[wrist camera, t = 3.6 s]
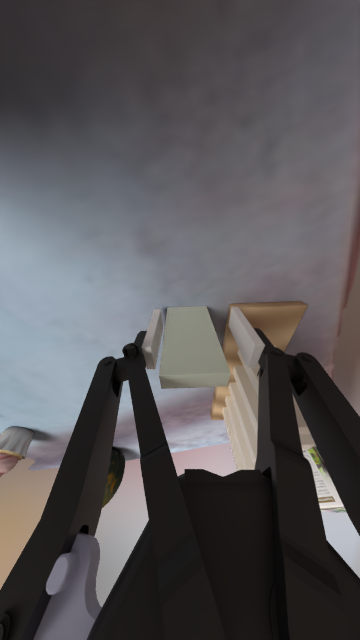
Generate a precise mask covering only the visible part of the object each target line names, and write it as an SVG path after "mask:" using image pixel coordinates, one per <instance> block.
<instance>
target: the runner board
mask: <svg viewBox="0 0 360 640" xmlns="http://www.w3.org/2000/svg"><path fill="white" fill-rule="evenodd" d="M231 307H239V309H240V310H241V312H242V313H243V315H244V316H245V317H246V319H247V320H248V322H249V323H250V324H251V326H252V327H253V328H259V329H260V330H262V331H263V333H264V334H265V335H266V337H267V338H268V339H269V340H270V342H271V343H272V344H274V345H275V346H276V347H277V348H279V349H281V350H282V351H283V352H284V351H285V349H286V347H287V345H288V343H289V341H290V339H291V338H292V336H293V334H294V332H295V330H296V328H297V326H298V324H299V322H300V320H301V318H302V316H303V314H304V312H305V310H306V308H307V307H308V305H306V304H305V303H303V302H301V301H293V302H268V303H242V304H230V306H229V312H228V318H227V323H226V329H225V335H224V340H223V346H222V351H223V353H224V356H225V359H226V361H227V364H228V367H229V370H230V372H231V374H230V378H229V382H228V386H223V387H215V391H214V397H213V403H212V408H211V414H210V415H211V420H224V417H223V413H222V410H223V408H225V407H227V406H226V402H225V399H226V396H231V394H230V391H229V388H228V387H229V384H230V383H234V382H236V380H235V378H234V375H233V373H232V372H233V368H234V366H243V364H242V362H241V360H240V358H239V356H238V354H237V353H238V350H239V347H238V345H237V343H236V341H235V339H234V337H233V335H232V333H231V330H230V328H229V326H228V324H229V319H230V313H231Z"/></svg>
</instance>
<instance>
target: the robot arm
mask: <svg viewBox="0 0 360 640" xmlns="http://www.w3.org/2000/svg"><path fill="white" fill-rule="evenodd" d="M228 326H229V328H230V330H231V333H232V335H233V337H234V339H235V341H236V343H237V345H238V347H239V350H240V352H241V354H242V356H243V358H244V360H245V362H246V364H247V367H257V364H258V363H259V365H260V369H259V371H258V373H257V376H258V375H259V391H258V433H257V458H256V463H255V469H254V470H239V471H237V472H234V473H232V474H229V475H227V476H224V477H222V476H219V475H217V474H214V473H211V472H209V471H206V470H203V469H185V473H184V474H182V475H180V476H177V473H176V470H175V466H174V463H173V460H172V456H171V453H170V450H169V446H168V443H167V440H166V437H165V433H164V430H163V427H162V423H161V420H160V417H159V413H158V410H157V407H156V403H155V400H154V397H153V393H152V390H151V386H150V383H149V380H148V376H147V373H146V370H145V368H146V367H147V369H155V367H156V362H157V357H158V351H159V346H160V341H161V336H162V330H163V323H162V315H161V309H154V312H153V315H152V318H151V321H150V324H149V327H148V330H147V331H140V332H139V333H138V334H137V337H136V339H135V342H134V343H130V344H127V345H126V346H124V348H123V350H122V351H123V354H124V357H123V358H119V359H115V358H114V357H112V356H111V357H105V358H104V359H102V360H101V361H100V362H99V364H98V366H97V369H96V371H95V374H94V377H93V380H92V382H91V385H90V388H89V390H88V393H87V396H86V398H85V401H84V404H83V406H82V409H81V412H80V414H79V417H78V420H77V423H76V425H75V428H74V431H73V433H72V436H71V439H70V441H69V444H68V447H67V449H66V452H65V455H64V457H63V460H62V463H61V465H60V468H59V471H58V474H57V476H56V479H55V482H54V484H53V487H52V490H51V492H50V495H49V498H48V500H47V503H46V506H45V508H44V511H43V514H42V517H41V519H40V522H39V523H38V525H37V527H36V528H35V530H34V532H33V534H32V536H31V537H30V539H29V541H28V542H27V544H26V546H25V548H24V549H23V551H22V553H21V555H20V557H19V558H18V560H17V562H16V564H15V565H14V567H13V569H12V570H11V572H10V574H9V576H8V578H7V579H6V581H5V583H4V584H3V586H2V588H1V590H0V640H360V578H359V577H358V576H357V575H356V574H355V573H354V571H353V570H352V569H351V568H350V567H349V566H348V564H347V563H346V562H345V561H344V560H343V559H342V557H341V556H340V555H339V554H338V553H337V552H336V550H335V549H334V548H333V547H332V546H331V545H330V544H329V542H328V541H327V540H326V535H325V530H324V525H323V520H322V515H321V510H320V505H319V501H318V496H317V491H316V486H315V481H314V476H313V471H312V467H311V464H310V462H309V460H308V459H306V458H305V457H304V455H303V451H302V446H301V440H300V435H299V429H298V423H297V417H296V412H295V406H294V400H293V396H294V398H295V400H296V402H297V405H298V407H299V409H300V411H301V413H302V416H303V418H304V420H305V422H306V424H307V427H308V429H309V431H310V433H311V435H312V438H313V440H314V442H315V444H316V446H317V449H318V451H319V453H320V455H321V457H322V460H323V462H324V464H325V466H326V468H327V471H328V473H329V475H330V477H331V479H332V482H333V484H334V486H335V488H336V490H337V493H338V495H339V497H340V499H341V501H342V503H343V505H344V508H345V510H346V512H347V514H348V516H349V518H350V520H351V521H352V523H353V525H354V527H355V528H356V530H357V532H358V533H359V536H360V417H359V416H358V414H357V413H356V412H355V410H354V409H353V407H352V406H351V405H350V403H349V402H348V401H347V399H346V398H345V397H344V395H343V394H342V393H341V392H340V390H339V389H338V387H337V386H336V385H335V383H334V382H333V381H332V379H331V378H330V377H329V375H328V374H327V373H326V371H325V370H324V369H323V367H322V366H321V365H320V363H319V362H318V361H317V359H315V358H314V357H313V356H311V355H310V354H307V353H303V352H302V353H297V355H296V356H292V355H287V354H285V353H284V352H283V351H282V350H281V349H279V348H276V347H274V346H273V344H272V343H271V342H270V340H269V339H268V338H267V337H266V335H265V334H264V333H263V331H262V330H260V329H259V328H253V327H252V326H251V324H250V323H249V322H248V320H247V319H246V317H245V316H244V315H243V313H242V312H241V310H240V309H239V307H231V313H230V319H229V324H228ZM126 380H129V386H130V392H131V399H132V405H133V411H134V417H135V423H136V429H137V435H138V442H139V448H140V455H141V457H140V464H141V471H142V477H143V484H144V491H145V497H146V504H147V510H148V517H149V521H148V523H147V525H146V527H145V528H144V530H143V532H142V534H141V536H140V538H139V540H138V541H137V543H136V545H135V547H134V549H133V551H132V553H131V555H130V556H129V558H128V560H127V562H126V564H125V566H124V568H123V570H122V572H121V573H120V575H119V577H118V579H117V581H116V583H115V585H114V586H113V588H112V590H111V592H110V594H109V596H108V598H107V599H106V602H105V603H104V605H103V607H101V606H100V605H99V602H98V600H97V596H96V590H95V588H96V576H97V570H98V565H99V560H100V547H99V543H98V541H97V539H96V538H94V535H95V533H96V529H97V525H98V521H99V518H100V514H101V509H102V504H103V499H104V493H105V487H106V481H107V475H108V469H109V463H110V457H111V451H112V445H113V439H114V433H115V427H116V421H117V415H118V409H119V403H120V397H121V391H122V385H123V381H126ZM292 394H293V395H292Z"/></svg>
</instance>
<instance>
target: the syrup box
mask: <svg viewBox="0 0 360 640" xmlns="http://www.w3.org/2000/svg"><path fill="white" fill-rule="evenodd" d="M309 435H310V436H311V438H312V435H311V434H309ZM312 440H313V438H312ZM313 441H314V440H313ZM314 443H315V442H314ZM302 451H303V455H304V457H305V458H306V459H308V460H309V462H310V464H311V467H312V471H313V476H314V481H315V486H316V491H317V496H318V501H319V505H320V510H321V511H326V512H346V510H345V508H344V505H343V503H342V501H341V499H340V497H339V495H338V493H337V490H336V488H335V486H334V484H333V482H332V479H331V477H330V475H329V473H328V471H327V468H326V466H325V464H324V462H323V460H322V457H321V455H320V453H319V451H318V449H317V446H316V444H315V445H314V446H313V447H311V448H310V449H308V450H302Z"/></svg>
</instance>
